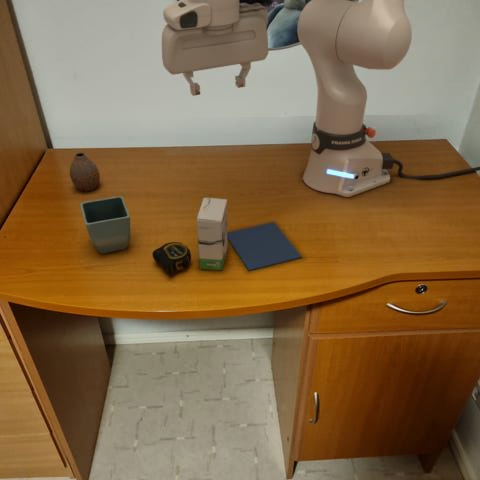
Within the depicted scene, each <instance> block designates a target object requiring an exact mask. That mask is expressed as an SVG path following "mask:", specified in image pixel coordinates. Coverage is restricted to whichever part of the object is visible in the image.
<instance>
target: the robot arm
mask: <svg viewBox="0 0 480 480" xmlns="http://www.w3.org/2000/svg"><path fill="white" fill-rule="evenodd" d="M162 15H163V19H164V21H165V23H166V25H165V26H164V27H163V28H162V29H163V30H162V32H161V59H162V65H163V67H164V69H165V70H166V71H167V72H168V73H169V74H171V75H172V76H173V75H180V74H182V75H183V77H184V79H185V80H186V81H187V84H188V85H189V88H190V89H189V91H190V94H191V96H192V97H195V96H199V95H201V91H200V90H201V85H200V84H199V83H198V82H194V81H193V79H192V78H194V72H199V71H204V70H213V69H217V68H223V67H230V66H235V65H239V66H240V67H241V69H240V71H239V73H238V75H235V76H234V80H235V81H234V83H235V87H237V88H238V89H240V88H245V87H246V78H247V76H248V75H249V72H250V71H251V68H252V63H253V62H259V61H260V62H261V61H264V60H266V58H267V57H268V55H269V38H268V29H267V27H268V23H269V13H268V9H267V8H266V6H265V5H262V4H261V3H259V2H255V3H253V4H240V0H177V1H176V2H174V3H172V4H169V5H168V6H166V7H165V8H164V9H163V11H162ZM296 30H297V38H298V41H299V44H300V45H301V47H302V48H303V49H304V50H305V52H306V53H307V55H308V57H309V60H310V62H311V65H312V69H313V71H314V75H315V79H316V89H317V97H316V98H317V99H316V110H315V111H316V113H315V120H314V122H313V125H312V132H311V145H310V146H311V147H310V154H309V158H308V160H307V161H308V162H307V164H306V168H305V169H304V173H303V174H302V180H303V182H304V184H305V185H306V186H307V187H310V188H311V189H313V190H315V191H318V192H322V193H325V194H326V193H327V194H335V195H338V196H341V197H345V198H350V197H351V198H352V197H354V196H356V195H358V194H359V195H360V194H362V193H364V192H367V191H369V190H372V189H375V188H377V187H380V186H383V185H386V184H388V183H390V182H391V175H390V172H389V171H388V170H393V168H394V164H395V165H397V166H398V169H397V175H398V176H399V177H401V178H402V179H403V178H404V179H411V180H419V181H421V180H435V179H442V178H448V177H449V178H450V177H452V176H459V175H462V174H463V175H464V174H469V173H472V172H477V171H480V166H475V167H469V168H466V169H459V170H455V171H449V172H446V173H440V174H425V175H415V176H413V175H407V174H406V173H405V174H404V173H403V169H404V165H403V163H402V161H400V160H398V159H395V158H394V157H393V156H392V154H391V153H390V152H381V151H380V150H379V149H378V148H377V147H376V146H374V144H372V143H371V142H370V141H369V140H368V139H367V137H368V138H369V139H373V138H374V137H375V136H376V135H377V131H376V129H374V128H373V127H371V126H368V127H367V125H366V124H364V116H365V113H366V107H367V102H368V93H367V88H366V86H365V84H363V82H362V81H361V79H360V78H359V77H358V75H357V73H356V70H355V67H358V68H359V67H360V68H363V69H366V70H378V71H379V70H380V71H381V70H383V71H385V70H387V71H388V70H392V69H395V68H396V67H397V66H398V65H400V63H401V62H402V61H403V60H404V59H405V57H406V55H407V53H408V52H409V49H410V48H411V43H412V39H413V38H412V36H413V32H412V31H413V30H412V26H411V21H410V19H409V17H408V16H407V13H406V10H405V0H361V1H353V0H310V1H308V2H307V3H306V4H305V6H304V7H303V8H302V10H301V12H300V14H299V17H298V21H297V29H296Z"/></svg>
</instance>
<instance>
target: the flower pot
mask: <svg viewBox="0 0 480 480" xmlns="http://www.w3.org/2000/svg"><path fill="white" fill-rule="evenodd" d="M79 206H80V208H81V212H82V216H83V221H84V224H85V228H86V230H87V233H88V236H89V238H90V241H91V243H92V245H93V246H94V248H95V249H96V250H97V251H98V252H99V253H101V254H108V253H113V252H118V251H123V250H126V249H127V247H128V245H129V243H130V239H131V215H130V212H129V210H128V207H127V205H126V203H125V200H124V197H123V196H121V195H119V196H112V197H107V198H106V197H105V198H101V199H95V200H88V201H83V202H81V203H80V204H79Z"/></svg>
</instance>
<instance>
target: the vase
mask: <svg viewBox="0 0 480 480" xmlns="http://www.w3.org/2000/svg"><path fill="white" fill-rule="evenodd" d="M69 177H70V180H71V183H72V184H73V186H75V188H77V189H78V190H80V191H81V192H91V191H94V190H95V189H96V188H98V186H99V184H100V179H101V178H100V171H99V168H98V166H97V164H96V163H95V162H94V161H93V160H92V159H91V158H89V157H88V156H87V154H86V153H85V152H82V151H80V152H76V153H75V154H74V157H73V160H72V161H71V163H70V167H69Z"/></svg>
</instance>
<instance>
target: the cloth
mask: <svg viewBox="0 0 480 480" xmlns="http://www.w3.org/2000/svg"><path fill="white" fill-rule="evenodd" d="M227 241H228V242H229V243H230V245H231V247H232V248H233V250H234V251H235V253H236V255H238V257H239V259H240V261H241V262H242V263H243V265H244V267H245V268H246V269H247V271H248V272H252V271H256V270H259V269H264V268H269V267H272V266H276V265H280V264H284V263H287V262H291V261H292V262H293V261H296V260H299V259H302V258H303V256H302V255H301V254H300V253H299V251H298V250H297V249H296V247H295V246H294V245H293V243H291V241H290V240H289V239H288V238H287V237H286V235H285V234H284V233H283V232H282V230H281V229H280V228H279V226H278V225H277V224H276V223H275V221H272V222H268V223H263V224H259V225H254V226H250V227H245V228H241V229H236V230H233V231H227Z"/></svg>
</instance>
